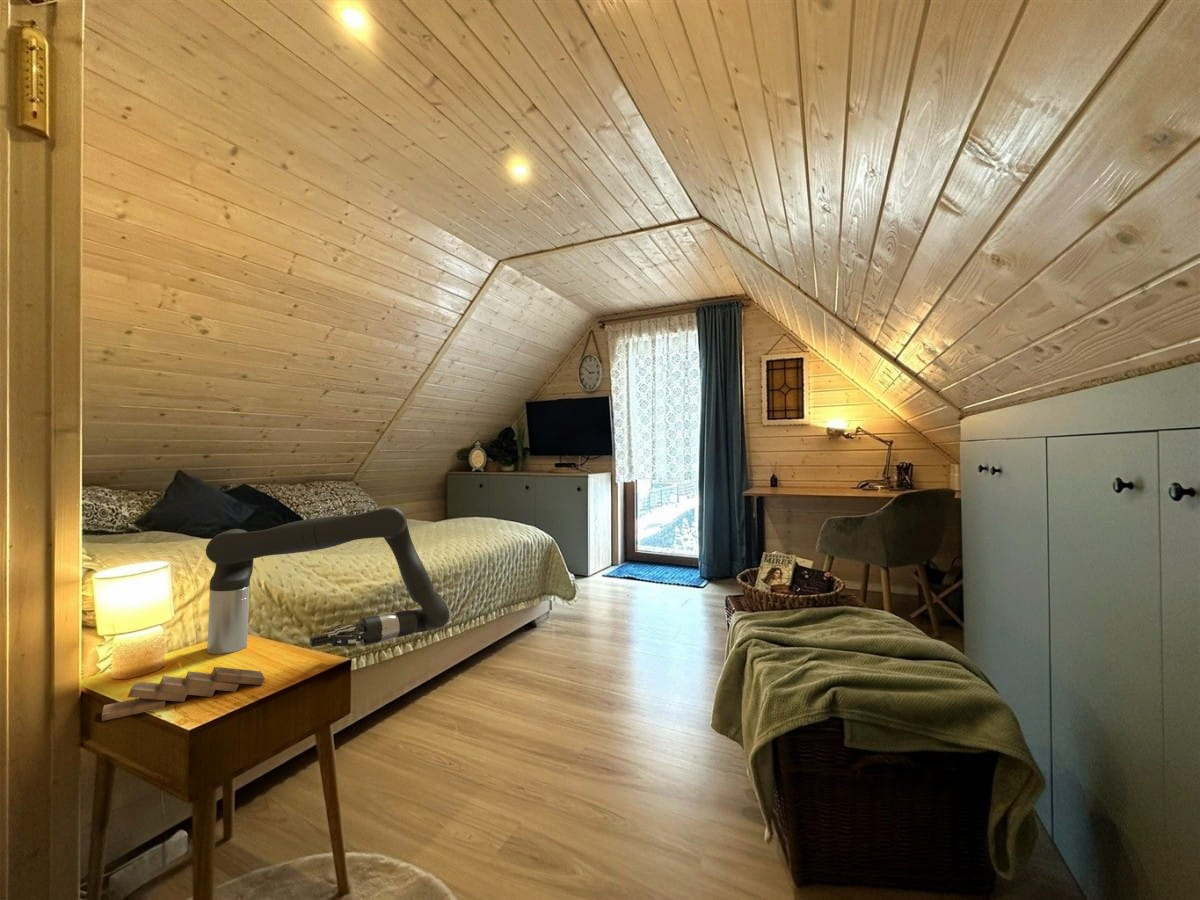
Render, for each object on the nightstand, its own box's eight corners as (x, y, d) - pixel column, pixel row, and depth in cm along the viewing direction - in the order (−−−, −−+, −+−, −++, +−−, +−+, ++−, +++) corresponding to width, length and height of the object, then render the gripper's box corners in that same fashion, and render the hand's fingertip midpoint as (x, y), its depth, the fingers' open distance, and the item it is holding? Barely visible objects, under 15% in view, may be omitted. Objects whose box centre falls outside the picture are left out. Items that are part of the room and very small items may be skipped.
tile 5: (164, 700, 118) (103, 712, 112) (165, 692, 118) (104, 705, 112) (164, 709, 114) (101, 722, 108) (165, 701, 114) (101, 714, 108)
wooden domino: (186, 693, 120) (132, 688, 115) (189, 686, 121) (135, 681, 116) (183, 701, 116) (127, 696, 111) (187, 694, 117) (131, 689, 112)
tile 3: (211, 688, 123) (159, 683, 118) (214, 681, 124) (163, 675, 118) (211, 696, 119) (158, 691, 114) (215, 689, 120) (162, 683, 114)
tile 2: (233, 684, 126) (184, 678, 120) (237, 677, 126) (188, 671, 121) (235, 691, 122) (184, 686, 116) (238, 684, 123) (188, 678, 117)
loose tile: (257, 677, 130) (211, 673, 124) (260, 671, 130) (214, 666, 124) (261, 685, 126) (214, 681, 120) (264, 678, 127) (217, 673, 120)
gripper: (370, 609, 152) (303, 621, 140) (388, 620, 143) (318, 634, 131) (369, 635, 152) (302, 649, 140) (387, 648, 143) (317, 664, 131)
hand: (310, 642), depth 136 cm, fingers closed
